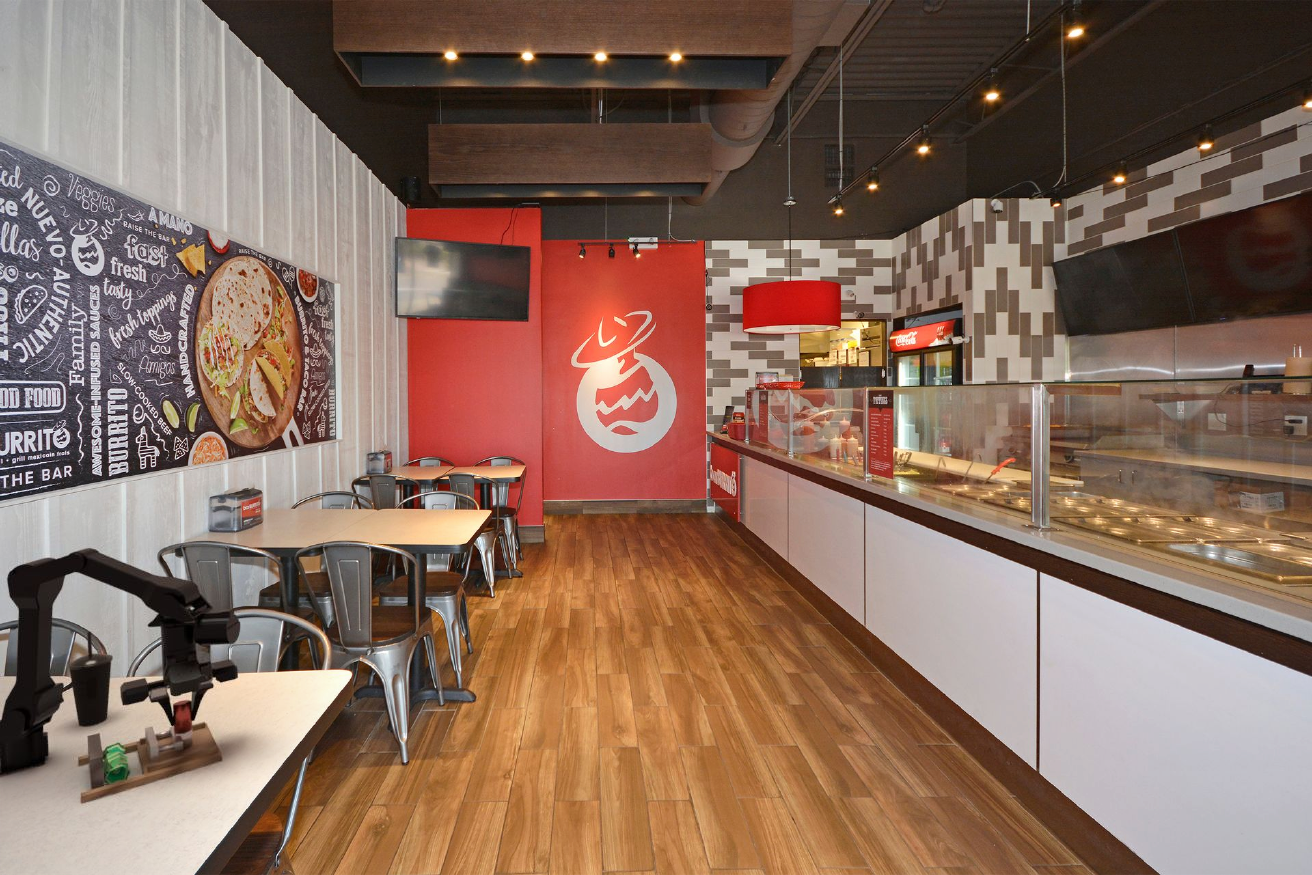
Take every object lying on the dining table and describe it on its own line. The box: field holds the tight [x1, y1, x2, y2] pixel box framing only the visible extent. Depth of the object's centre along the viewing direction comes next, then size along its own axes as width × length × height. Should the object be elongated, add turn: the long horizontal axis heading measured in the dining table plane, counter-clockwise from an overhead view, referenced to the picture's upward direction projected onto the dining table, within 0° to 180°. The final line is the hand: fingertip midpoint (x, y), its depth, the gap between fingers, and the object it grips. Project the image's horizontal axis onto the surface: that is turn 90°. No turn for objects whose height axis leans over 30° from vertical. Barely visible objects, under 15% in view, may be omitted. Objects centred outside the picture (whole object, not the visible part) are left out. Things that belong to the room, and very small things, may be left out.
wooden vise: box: [77, 721, 223, 804], centre depth 132 cm, size 21×18×6 cm
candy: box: [103, 742, 131, 785], centre depth 128 cm, size 12×3×4 cm
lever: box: [144, 699, 193, 765], centre depth 134 cm, size 7×10×8 cm
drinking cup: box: [67, 631, 114, 727], centre depth 149 cm, size 8×8×20 cm
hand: (182, 722), depth 135 cm, fingers closed on lever, 3 cm apart
